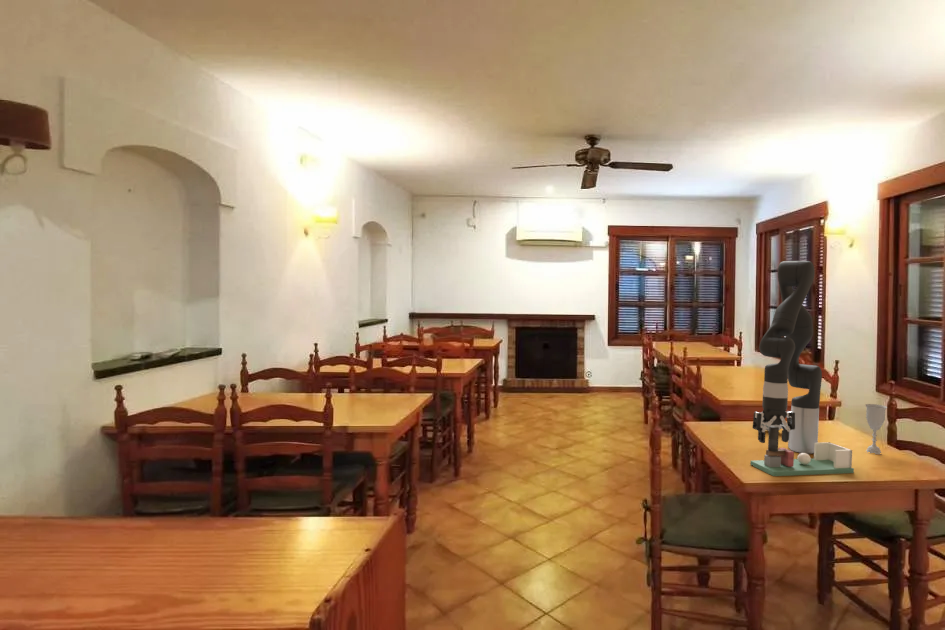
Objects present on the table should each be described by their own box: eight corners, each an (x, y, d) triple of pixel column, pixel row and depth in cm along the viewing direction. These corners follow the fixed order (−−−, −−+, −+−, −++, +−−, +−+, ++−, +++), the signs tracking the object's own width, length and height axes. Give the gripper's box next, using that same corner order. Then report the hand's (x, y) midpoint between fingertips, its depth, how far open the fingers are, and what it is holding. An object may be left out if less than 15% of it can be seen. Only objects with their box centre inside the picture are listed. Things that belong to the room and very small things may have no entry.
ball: (794, 462, 197) (794, 451, 197) (804, 462, 198) (805, 451, 197) (802, 466, 193) (803, 454, 193) (813, 466, 194) (813, 454, 193)
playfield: (750, 464, 199) (750, 451, 199) (826, 462, 203) (827, 448, 203) (773, 476, 187) (773, 461, 187) (853, 472, 192) (854, 458, 191)
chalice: (888, 455, 212) (891, 408, 211) (868, 454, 214) (870, 407, 213) (878, 450, 219) (881, 404, 218) (859, 449, 221) (861, 403, 220)
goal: (813, 459, 201) (814, 442, 201) (828, 458, 202) (829, 442, 202) (835, 468, 192) (836, 450, 191) (851, 467, 192) (852, 450, 192)
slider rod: (762, 462, 196) (763, 425, 195) (783, 461, 197) (784, 425, 196) (771, 467, 191) (773, 429, 190) (793, 466, 192) (794, 428, 191)
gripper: (786, 392, 197) (784, 438, 198) (749, 393, 195) (747, 439, 196) (801, 396, 190) (799, 444, 190) (763, 397, 187) (761, 445, 188)
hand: (773, 442), depth 193 cm, fingers open, 8 cm apart
